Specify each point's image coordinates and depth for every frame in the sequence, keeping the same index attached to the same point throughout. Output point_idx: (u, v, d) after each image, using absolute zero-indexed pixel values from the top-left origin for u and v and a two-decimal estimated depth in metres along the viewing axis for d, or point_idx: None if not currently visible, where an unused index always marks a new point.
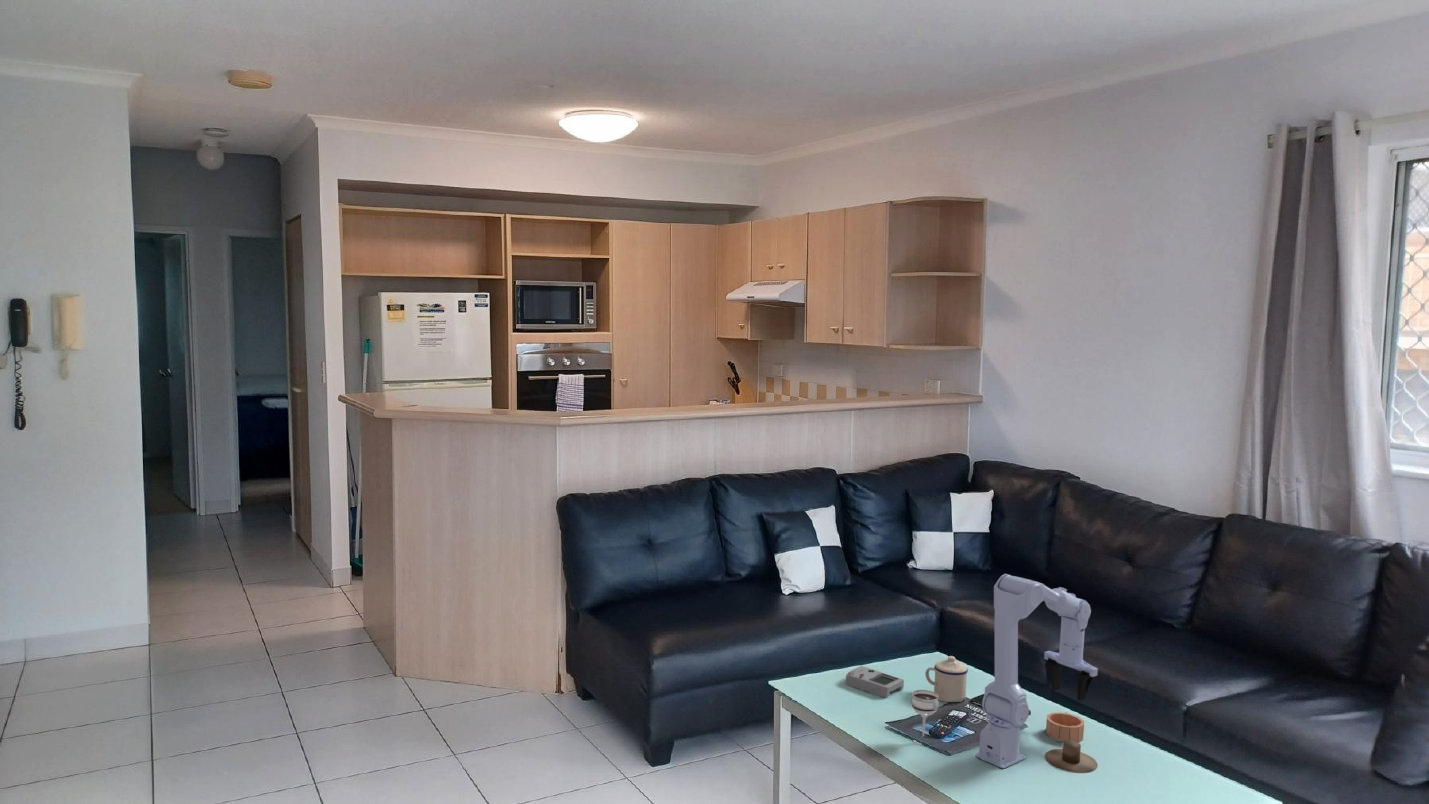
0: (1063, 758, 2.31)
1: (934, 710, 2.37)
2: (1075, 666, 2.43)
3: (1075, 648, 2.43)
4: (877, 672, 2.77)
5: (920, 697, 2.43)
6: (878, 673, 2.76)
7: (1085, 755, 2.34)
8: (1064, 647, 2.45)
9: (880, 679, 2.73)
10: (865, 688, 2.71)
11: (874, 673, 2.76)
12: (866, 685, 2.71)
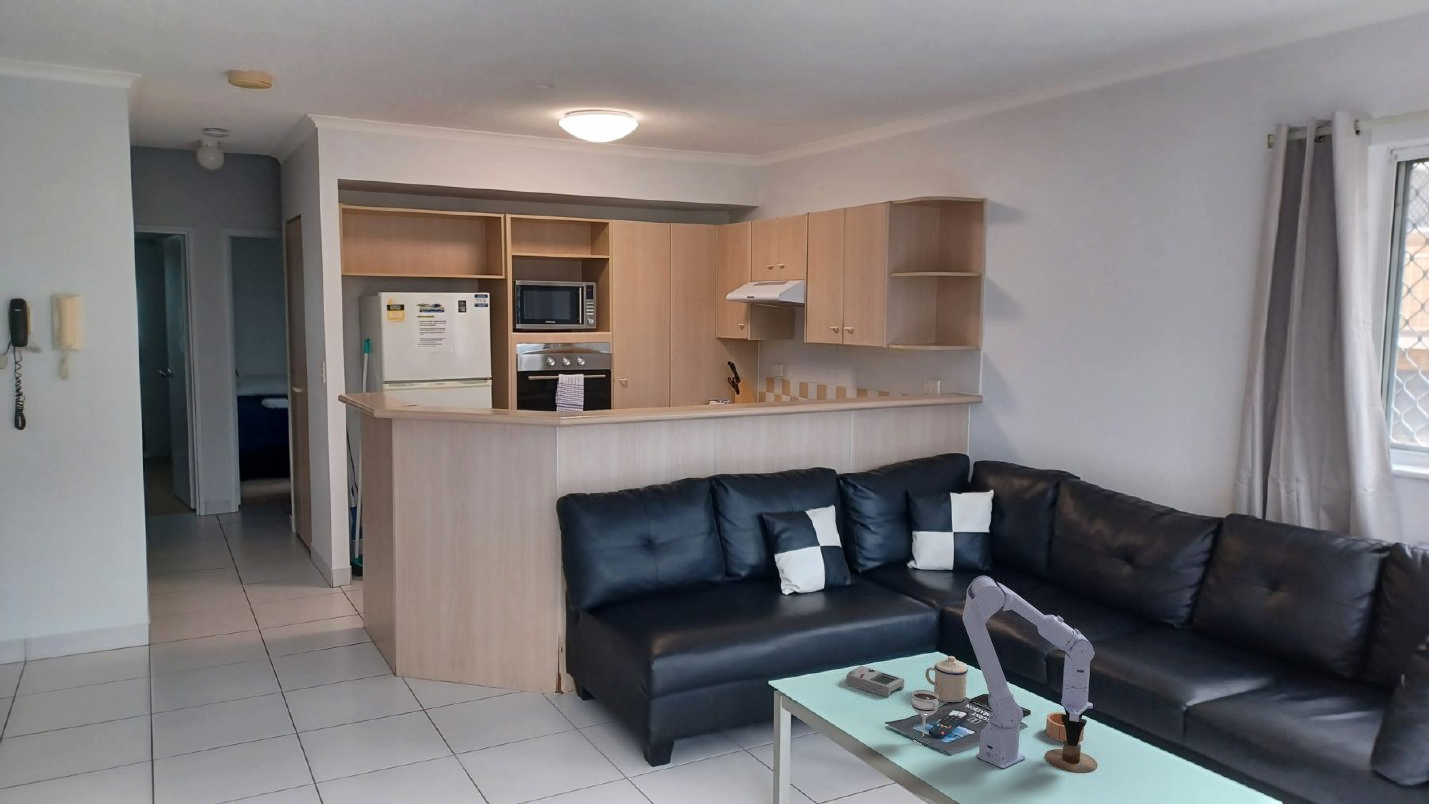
0: (1063, 758, 2.31)
1: (934, 710, 2.37)
2: (1064, 706, 2.28)
3: (1068, 687, 2.28)
4: (877, 672, 2.77)
5: (920, 697, 2.43)
6: (878, 673, 2.77)
7: (1085, 755, 2.34)
8: (1063, 684, 2.31)
9: (881, 679, 2.73)
10: (866, 688, 2.71)
11: (874, 673, 2.76)
12: (867, 685, 2.71)
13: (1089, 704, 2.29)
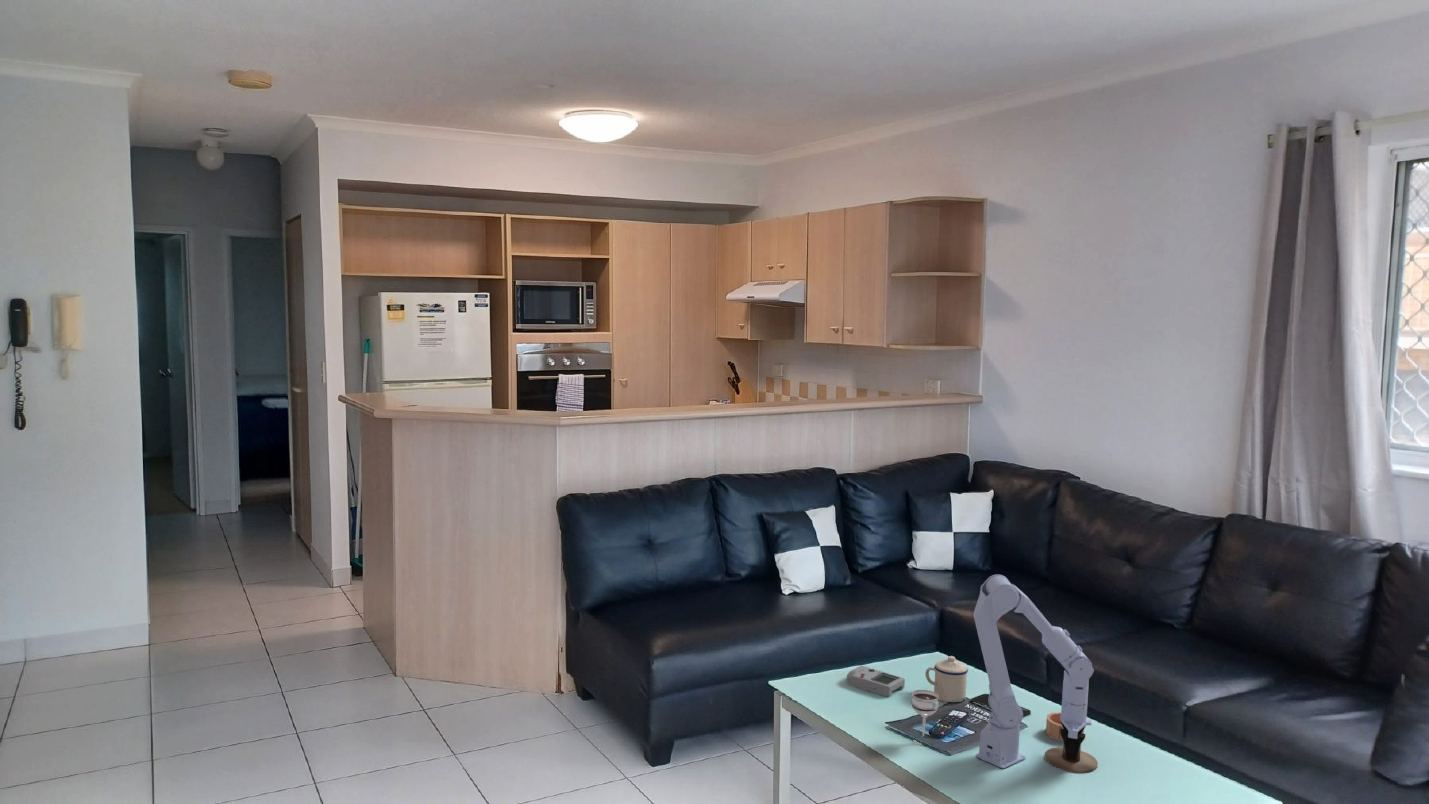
0: (1063, 757, 2.31)
1: (934, 710, 2.37)
2: (1063, 723, 2.29)
3: (1067, 704, 2.29)
4: (878, 671, 2.78)
5: (920, 697, 2.43)
6: (879, 672, 2.77)
7: (1084, 754, 2.34)
8: (1062, 701, 2.31)
9: (881, 678, 2.74)
10: (867, 688, 2.71)
11: (874, 673, 2.76)
12: (868, 685, 2.71)
13: (1088, 721, 2.29)
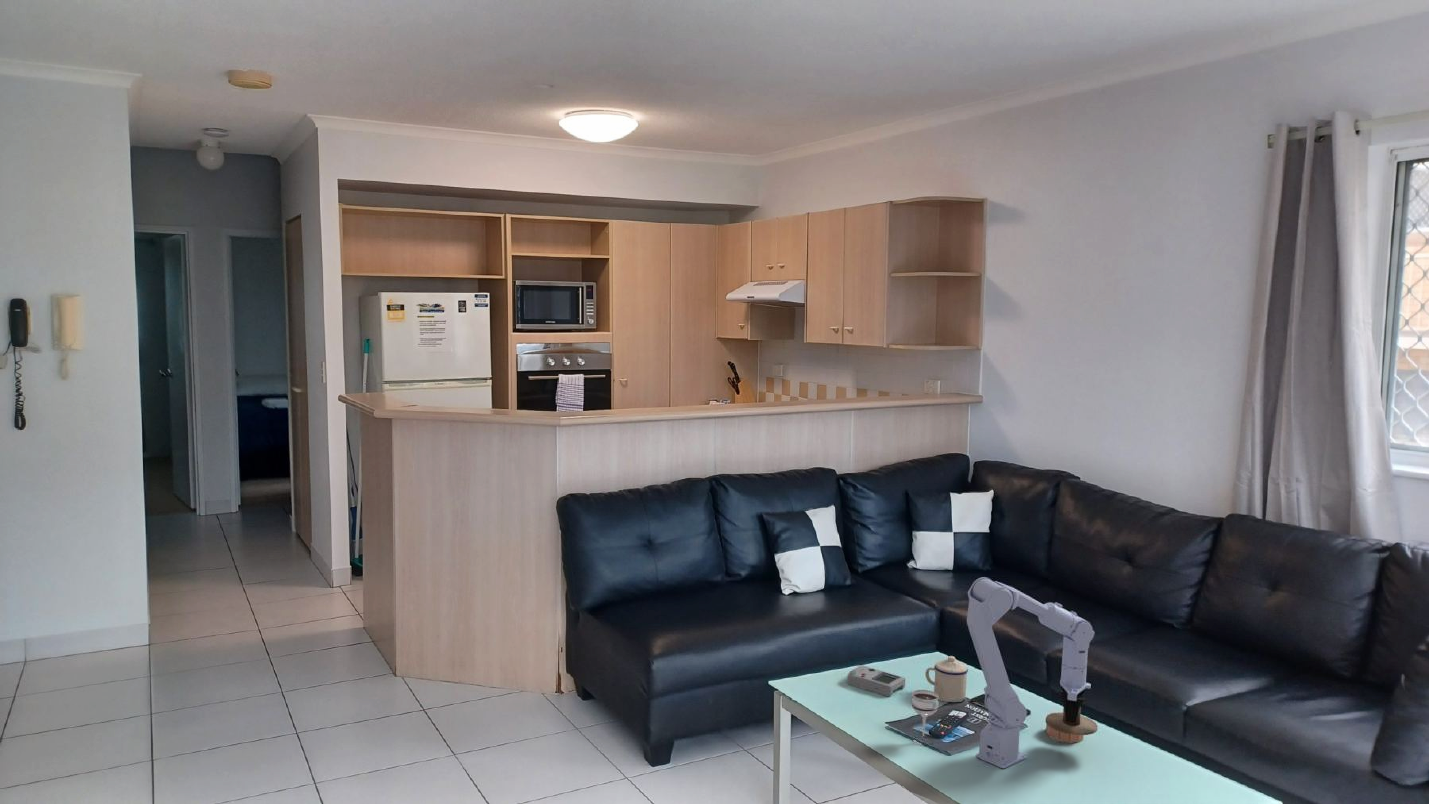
0: (1064, 720, 2.36)
1: (934, 710, 2.37)
2: (1063, 686, 2.33)
3: (1066, 667, 2.33)
4: (878, 671, 2.78)
5: (920, 697, 2.43)
6: (879, 672, 2.77)
7: (1085, 718, 2.38)
8: None
9: (882, 678, 2.74)
10: (868, 687, 2.71)
11: (875, 672, 2.77)
12: (869, 684, 2.71)
13: (1087, 684, 2.34)
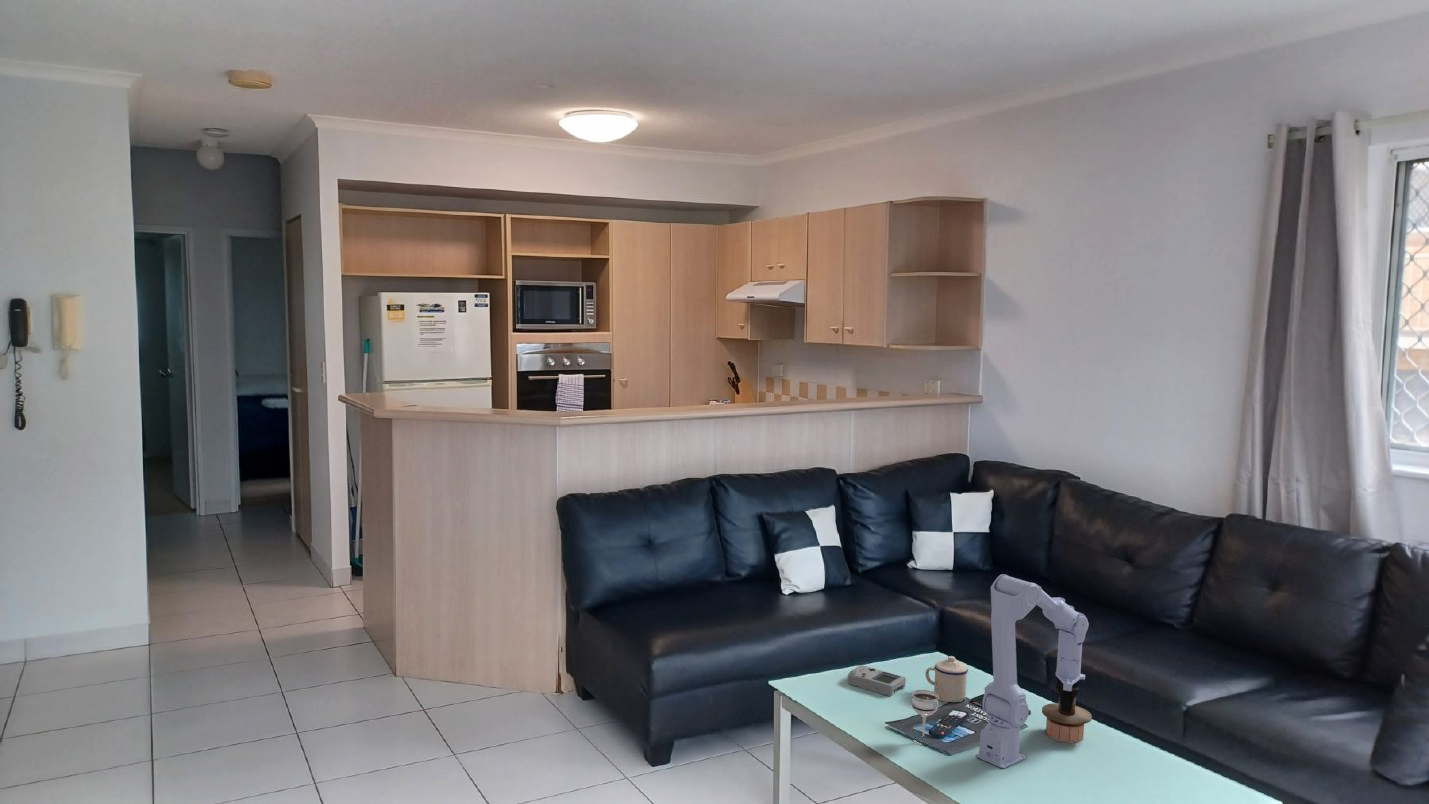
0: (1059, 710, 2.45)
1: (934, 710, 2.37)
2: (1058, 677, 2.43)
3: (1062, 659, 2.43)
4: (878, 671, 2.78)
5: (920, 697, 2.43)
6: (879, 672, 2.77)
7: (1080, 708, 2.48)
8: (1057, 657, 2.45)
9: (882, 678, 2.74)
10: (868, 687, 2.72)
11: (875, 672, 2.77)
12: (869, 684, 2.71)
13: (1082, 675, 2.43)
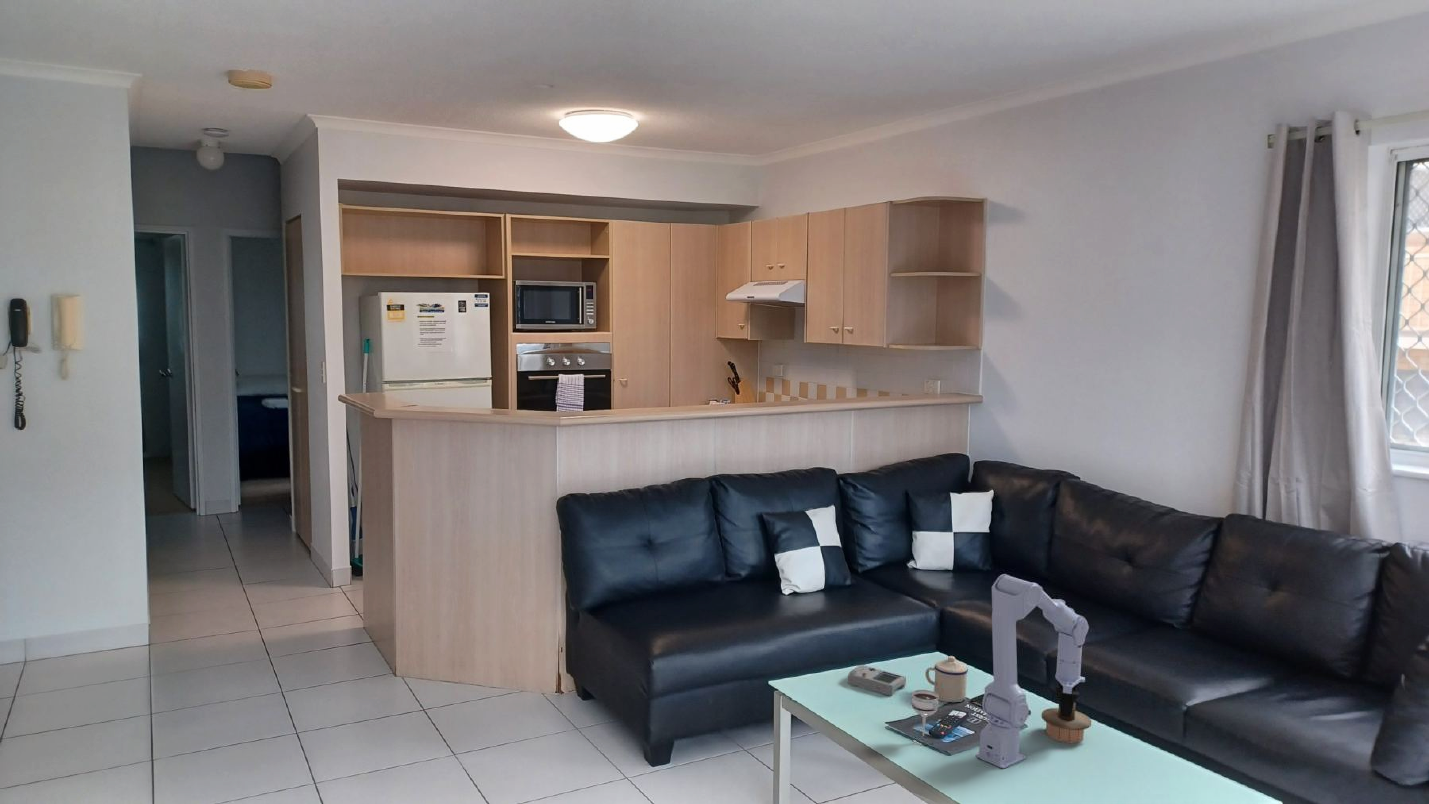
0: (1059, 716, 2.45)
1: (934, 710, 2.37)
2: (1058, 680, 2.43)
3: (1061, 662, 2.43)
4: (878, 670, 2.78)
5: (920, 697, 2.43)
6: (879, 671, 2.78)
7: (1079, 713, 2.48)
8: (1057, 659, 2.45)
9: (883, 677, 2.74)
10: (869, 687, 2.72)
11: (875, 672, 2.77)
12: (870, 684, 2.72)
13: (1081, 678, 2.43)
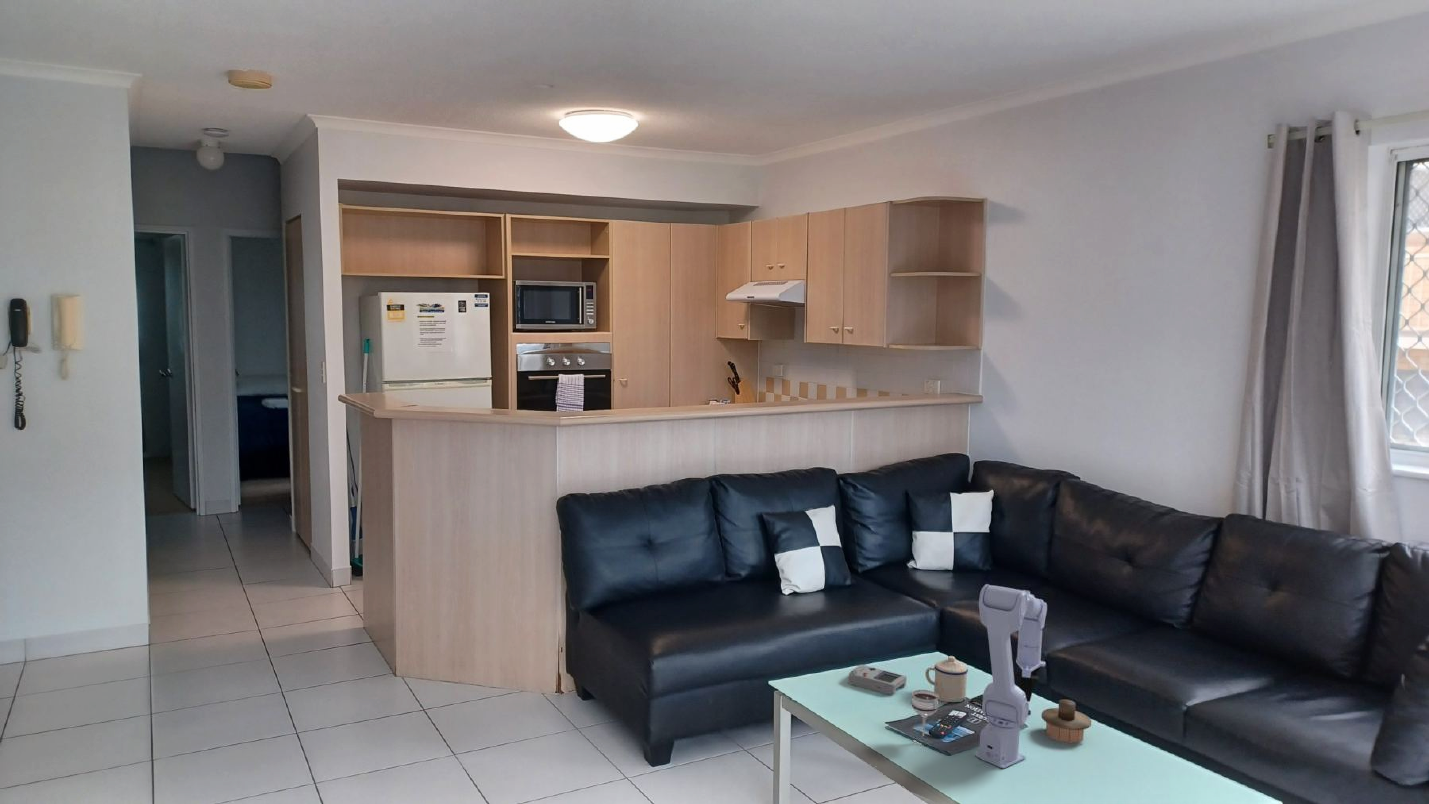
0: (1059, 716, 2.45)
1: (934, 710, 2.37)
2: (1018, 664, 2.43)
3: (1022, 646, 2.44)
4: (878, 670, 2.79)
5: (920, 697, 2.43)
6: (880, 671, 2.78)
7: (1079, 713, 2.48)
8: None
9: (883, 677, 2.75)
10: (870, 686, 2.72)
11: (876, 671, 2.77)
12: (871, 683, 2.72)
13: (1042, 663, 2.44)
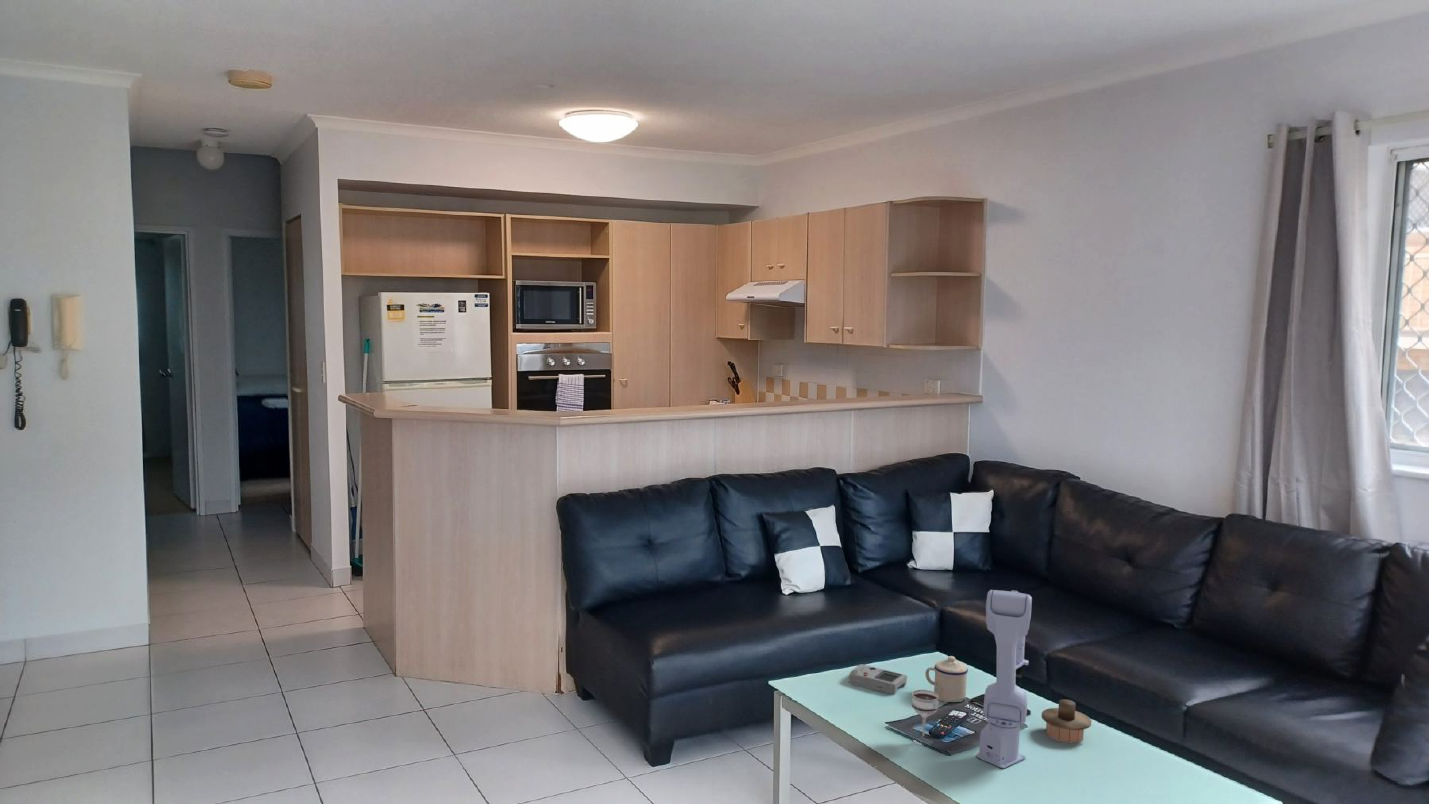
0: (1059, 716, 2.45)
1: (934, 710, 2.37)
2: None
3: None
4: (879, 669, 2.79)
5: (920, 697, 2.43)
6: (880, 670, 2.78)
7: (1079, 713, 2.48)
8: None
9: (884, 676, 2.75)
10: (871, 686, 2.72)
11: (876, 671, 2.78)
12: (872, 683, 2.72)
13: (1025, 661, 2.44)
